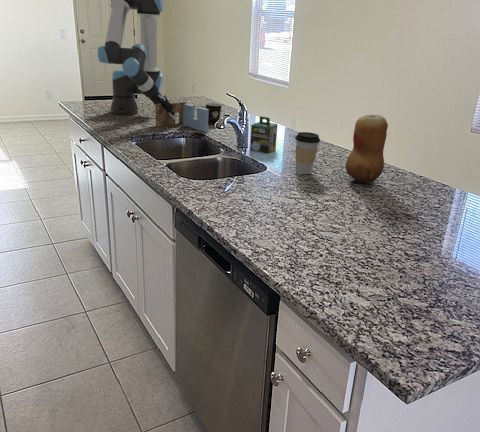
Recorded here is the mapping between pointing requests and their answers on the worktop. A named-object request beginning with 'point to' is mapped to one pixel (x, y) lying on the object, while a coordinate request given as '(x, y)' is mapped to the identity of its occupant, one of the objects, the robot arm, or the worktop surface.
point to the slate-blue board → (192, 122)
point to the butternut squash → (367, 148)
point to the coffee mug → (213, 112)
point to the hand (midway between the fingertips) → (174, 117)
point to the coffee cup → (306, 151)
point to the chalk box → (263, 136)
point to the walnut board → (164, 117)
